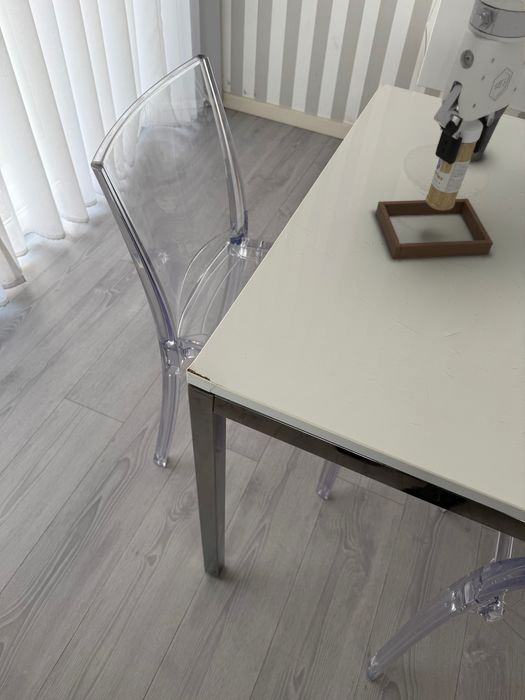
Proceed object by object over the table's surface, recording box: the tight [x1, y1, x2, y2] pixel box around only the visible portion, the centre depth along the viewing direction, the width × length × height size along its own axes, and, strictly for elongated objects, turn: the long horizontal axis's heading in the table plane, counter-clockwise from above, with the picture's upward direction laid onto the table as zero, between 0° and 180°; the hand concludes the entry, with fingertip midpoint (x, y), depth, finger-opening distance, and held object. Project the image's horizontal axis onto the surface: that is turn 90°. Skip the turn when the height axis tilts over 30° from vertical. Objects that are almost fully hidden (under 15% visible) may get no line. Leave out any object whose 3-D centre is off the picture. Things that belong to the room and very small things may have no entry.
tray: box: [375, 198, 494, 260], centre depth 93 cm, size 16×12×3 cm
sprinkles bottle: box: [425, 116, 483, 210], centre depth 84 cm, size 5×5×14 cm
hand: (457, 152), depth 82 cm, fingers closed on sprinkles bottle, 4 cm apart
